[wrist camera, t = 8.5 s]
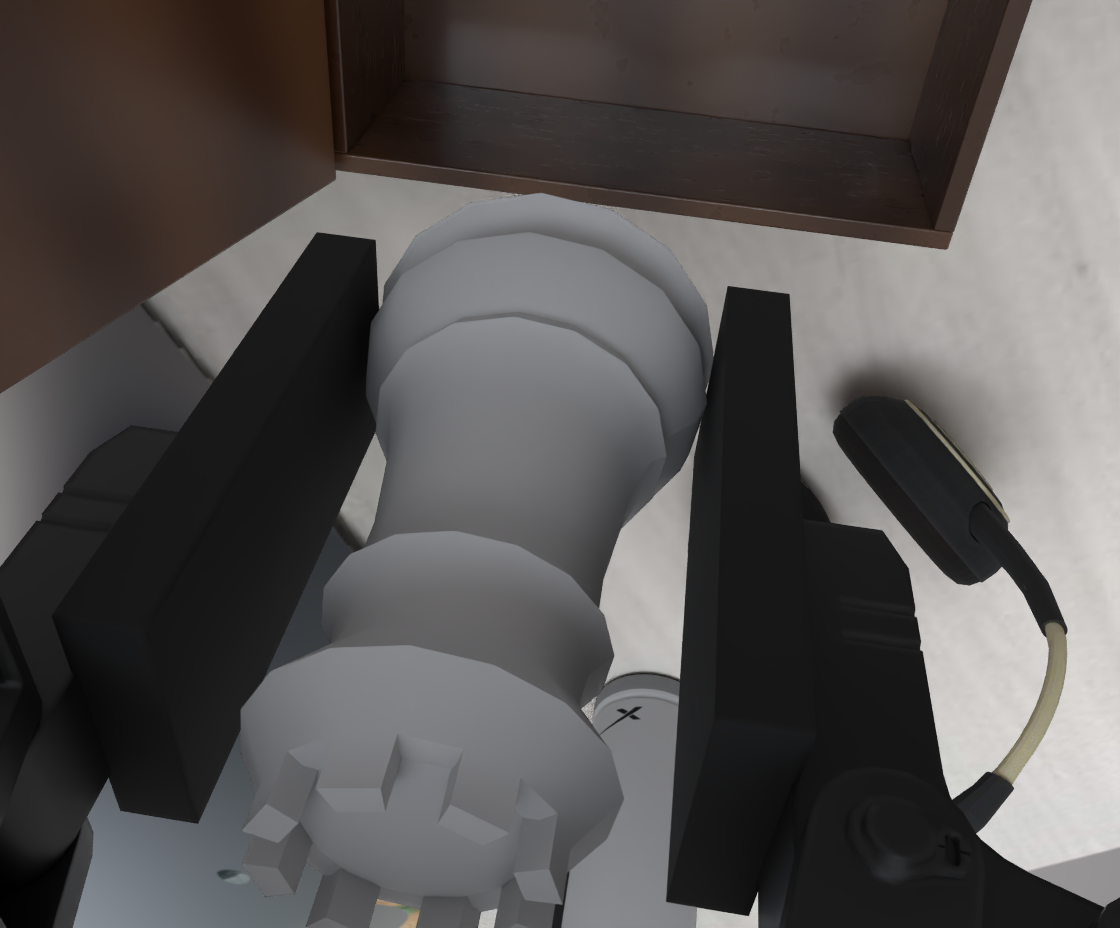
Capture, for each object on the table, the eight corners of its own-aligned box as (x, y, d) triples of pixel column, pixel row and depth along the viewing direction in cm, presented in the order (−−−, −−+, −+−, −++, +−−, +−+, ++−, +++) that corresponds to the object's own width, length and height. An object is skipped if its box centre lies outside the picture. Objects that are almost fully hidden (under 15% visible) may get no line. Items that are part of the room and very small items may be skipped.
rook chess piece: (732, 185, 13) (719, 738, 6) (701, 473, 15) (672, 1048, 9) (369, 166, 13) (32, 663, 7) (405, 448, 16) (187, 980, 10)
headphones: (1041, 449, 45) (1191, 888, 29) (753, 585, 52) (752, 993, 37) (936, 308, 41) (1043, 721, 26) (644, 476, 49) (592, 874, 33)
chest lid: (-1004, -386, 10) (-1049, -394, 10) (-326, 604, 18) (-361, 586, 18) (300, -362, 24) (267, -365, 24) (337, 179, 32) (312, 173, 33)
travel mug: (605, 657, 57) (548, 1042, 42) (721, 689, 57) (707, 1083, 42) (578, 724, 61) (517, 1098, 46) (687, 753, 61) (662, 1135, 46)
